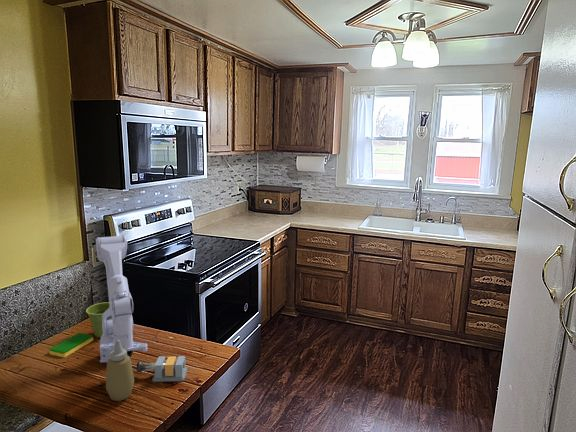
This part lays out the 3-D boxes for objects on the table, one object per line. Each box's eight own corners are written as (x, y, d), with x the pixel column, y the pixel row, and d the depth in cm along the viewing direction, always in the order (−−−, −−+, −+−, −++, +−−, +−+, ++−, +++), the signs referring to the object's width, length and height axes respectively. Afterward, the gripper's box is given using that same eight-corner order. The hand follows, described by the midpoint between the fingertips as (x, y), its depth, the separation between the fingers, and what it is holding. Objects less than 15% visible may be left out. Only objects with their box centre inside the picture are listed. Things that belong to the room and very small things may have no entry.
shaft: (136, 374, 129) (136, 365, 128) (139, 368, 132) (139, 359, 132) (175, 373, 130) (175, 364, 129) (177, 368, 133) (177, 358, 133)
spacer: (165, 376, 129) (164, 364, 128) (168, 367, 134) (168, 356, 133) (173, 376, 129) (172, 364, 128) (176, 367, 134) (176, 356, 133)
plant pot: (90, 329, 163) (88, 303, 161) (121, 326, 167) (119, 300, 165) (85, 342, 152) (83, 315, 150) (118, 339, 156) (117, 312, 154)
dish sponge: (93, 341, 154) (93, 335, 154) (64, 358, 141) (63, 352, 141) (79, 338, 157) (79, 332, 156) (49, 355, 144) (48, 348, 143)
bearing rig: (152, 381, 128) (151, 366, 127) (157, 370, 134) (156, 355, 133) (183, 380, 129) (183, 365, 128) (187, 370, 135) (186, 355, 134)
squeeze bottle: (106, 406, 116) (102, 349, 112) (106, 390, 123) (103, 337, 120) (135, 400, 119) (132, 344, 116) (134, 385, 126) (131, 332, 123)
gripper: (95, 338, 123) (97, 378, 126) (142, 338, 124) (144, 377, 127) (103, 328, 130) (105, 366, 132) (148, 328, 131) (150, 365, 134)
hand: (125, 371), depth 130 cm, fingers closed
